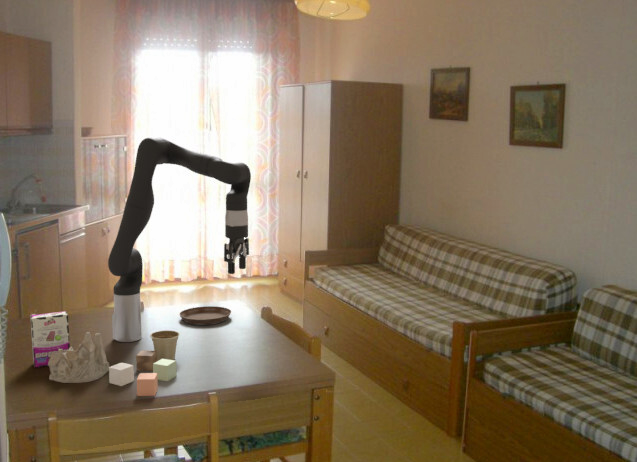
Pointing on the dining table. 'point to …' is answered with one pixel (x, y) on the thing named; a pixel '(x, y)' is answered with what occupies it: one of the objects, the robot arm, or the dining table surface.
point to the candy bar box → (49, 336)
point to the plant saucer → (205, 315)
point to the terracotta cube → (147, 384)
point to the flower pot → (165, 344)
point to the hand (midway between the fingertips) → (236, 271)
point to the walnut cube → (146, 360)
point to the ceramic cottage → (80, 362)
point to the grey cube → (121, 374)
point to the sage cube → (165, 369)
